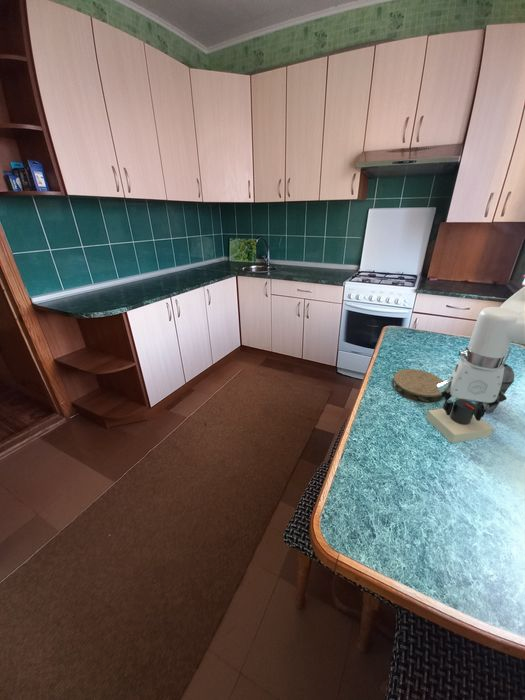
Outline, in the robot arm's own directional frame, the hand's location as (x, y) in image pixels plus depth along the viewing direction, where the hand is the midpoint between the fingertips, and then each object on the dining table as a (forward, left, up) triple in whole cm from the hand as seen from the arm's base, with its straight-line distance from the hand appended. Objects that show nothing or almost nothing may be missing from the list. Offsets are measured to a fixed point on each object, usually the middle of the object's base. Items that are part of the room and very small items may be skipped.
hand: (461, 414), depth 79 cm
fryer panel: (0, 0, -5) cm, 5 cm away
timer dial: (0, 0, -2) cm, 2 cm away
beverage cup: (-15, -5, -5) cm, 16 cm away
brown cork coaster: (-2, -19, -5) cm, 20 cm away
